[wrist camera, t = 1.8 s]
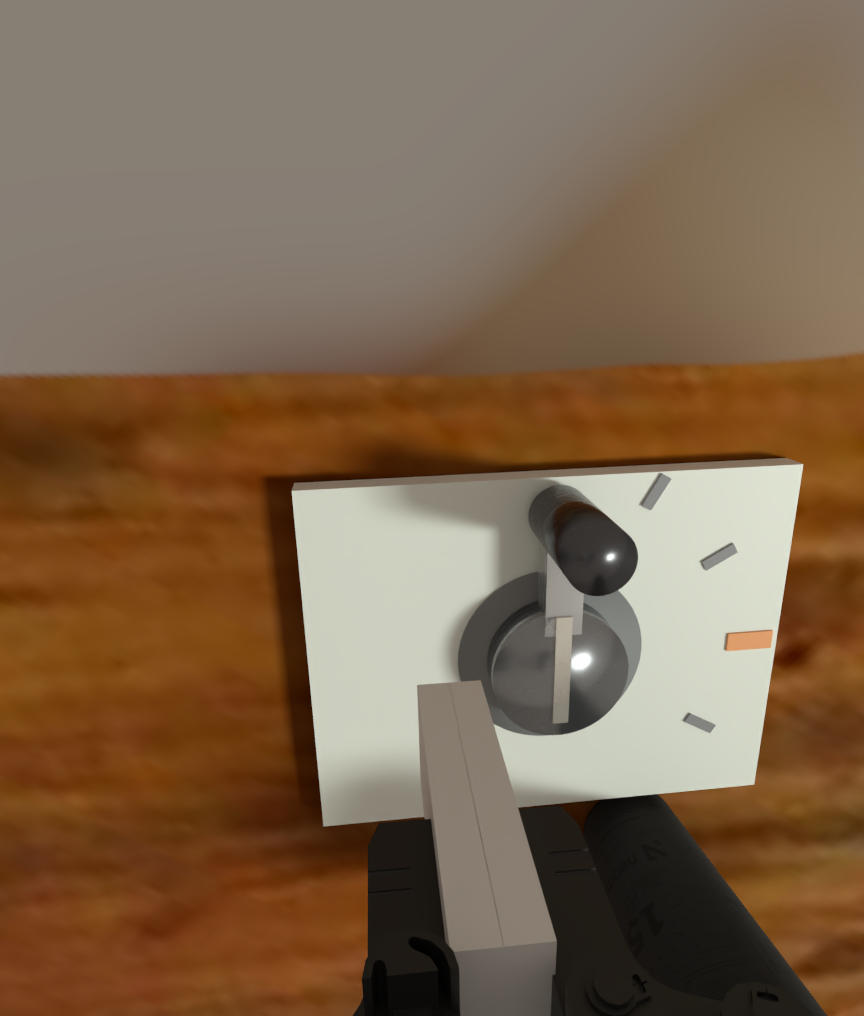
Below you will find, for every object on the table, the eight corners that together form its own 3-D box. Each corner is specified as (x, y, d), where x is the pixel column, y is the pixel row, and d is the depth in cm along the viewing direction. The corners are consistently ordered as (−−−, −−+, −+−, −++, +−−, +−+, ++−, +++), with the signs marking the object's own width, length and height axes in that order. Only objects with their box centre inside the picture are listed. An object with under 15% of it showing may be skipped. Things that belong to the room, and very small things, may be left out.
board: (324, 808, 33) (323, 828, 32) (294, 482, 28) (291, 491, 26) (741, 768, 35) (754, 785, 34) (786, 457, 30) (804, 464, 28)
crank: (611, 708, 31) (661, 790, 26) (486, 718, 31) (512, 804, 25) (627, 479, 28) (688, 521, 22) (486, 486, 27) (516, 531, 22)
